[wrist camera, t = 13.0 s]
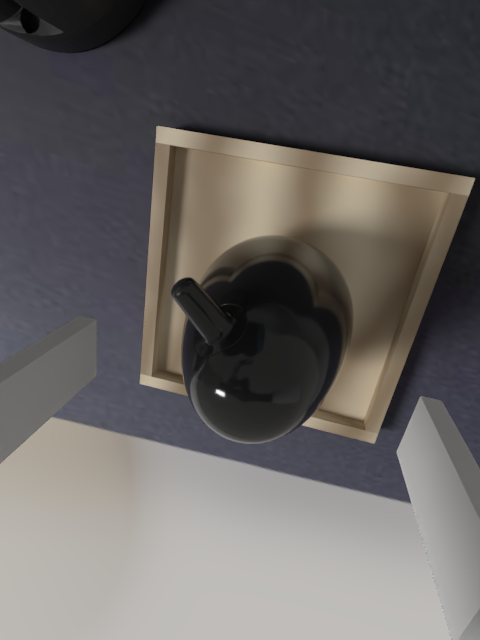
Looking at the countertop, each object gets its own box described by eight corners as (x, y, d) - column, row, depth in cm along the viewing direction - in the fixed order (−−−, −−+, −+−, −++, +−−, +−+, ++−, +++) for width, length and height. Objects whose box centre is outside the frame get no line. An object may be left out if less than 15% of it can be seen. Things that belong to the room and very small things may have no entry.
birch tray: (149, 372, 33) (139, 383, 31) (168, 129, 26) (156, 125, 24) (370, 428, 31) (374, 443, 29) (462, 178, 23) (475, 178, 21)
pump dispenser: (309, 198, 25) (304, 218, 11) (369, 328, 27) (428, 483, 13) (187, 264, 28) (61, 344, 14) (249, 374, 30) (194, 538, 16)
